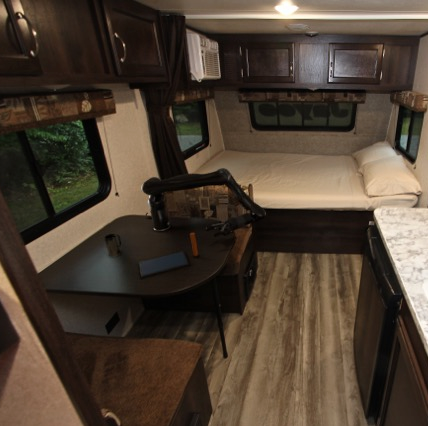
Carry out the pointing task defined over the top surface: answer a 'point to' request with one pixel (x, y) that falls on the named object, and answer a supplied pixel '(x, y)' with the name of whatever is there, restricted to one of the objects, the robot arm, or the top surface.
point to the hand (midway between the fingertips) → (210, 232)
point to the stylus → (194, 244)
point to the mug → (113, 244)
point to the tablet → (163, 264)
